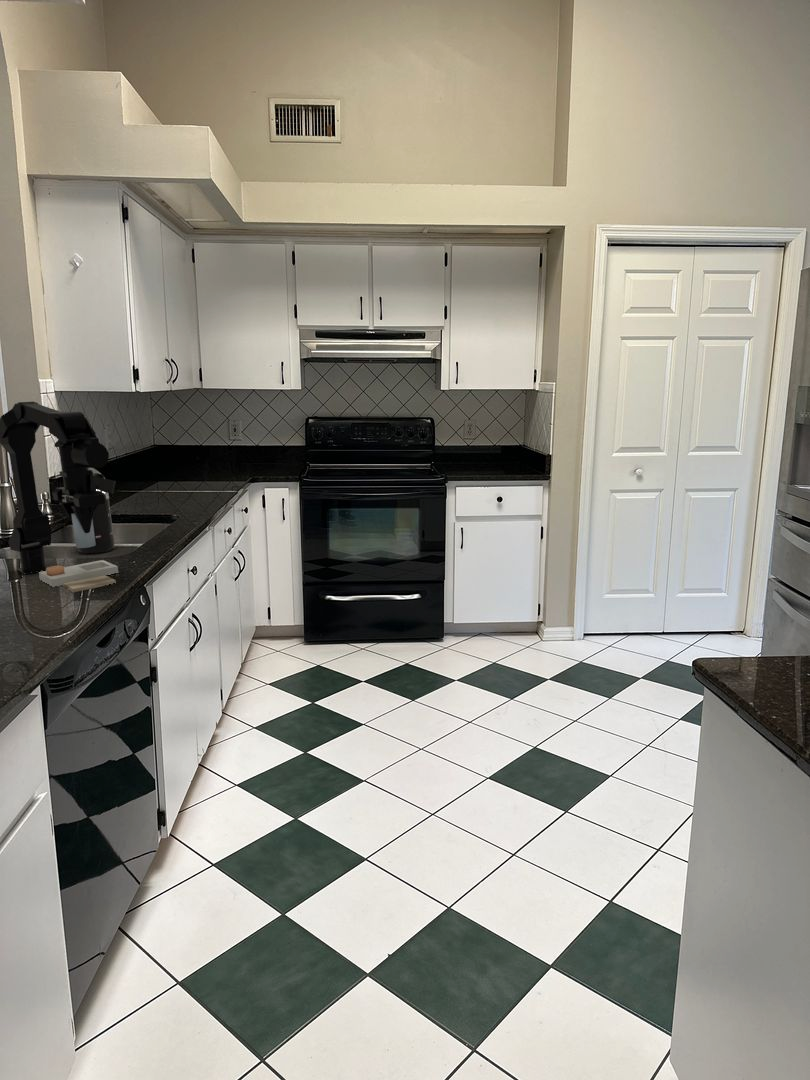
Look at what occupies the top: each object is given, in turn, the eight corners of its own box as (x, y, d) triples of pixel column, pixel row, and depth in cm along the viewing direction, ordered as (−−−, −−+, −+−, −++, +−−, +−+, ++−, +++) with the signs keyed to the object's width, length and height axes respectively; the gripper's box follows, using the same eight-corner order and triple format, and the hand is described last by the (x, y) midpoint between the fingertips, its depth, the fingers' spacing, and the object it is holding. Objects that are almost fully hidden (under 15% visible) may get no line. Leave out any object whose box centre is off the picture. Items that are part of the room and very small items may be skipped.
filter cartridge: (73, 546, 180) (68, 509, 178) (91, 543, 183) (86, 506, 181) (79, 548, 177) (74, 511, 175) (98, 545, 180) (93, 508, 178)
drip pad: (63, 586, 181) (63, 583, 181) (105, 578, 188) (104, 575, 188) (73, 592, 176) (73, 589, 176) (115, 583, 183) (115, 580, 182)
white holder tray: (39, 579, 188) (38, 572, 188) (103, 567, 199) (102, 560, 198) (52, 587, 181) (51, 579, 181) (118, 573, 191) (117, 566, 191)
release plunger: (45, 579, 186) (43, 567, 186) (62, 576, 189) (60, 564, 188) (50, 582, 183) (49, 570, 183) (67, 579, 186) (66, 567, 185)
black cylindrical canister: (77, 556, 212) (65, 468, 206) (77, 549, 221) (66, 464, 215) (116, 552, 216) (105, 465, 210) (114, 545, 225) (104, 461, 219)
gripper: (124, 465, 174) (132, 530, 178) (94, 460, 188) (102, 521, 191) (75, 470, 167) (84, 539, 171) (47, 465, 181) (57, 529, 184)
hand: (83, 531), depth 179 cm, fingers closed on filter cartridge, 4 cm apart
